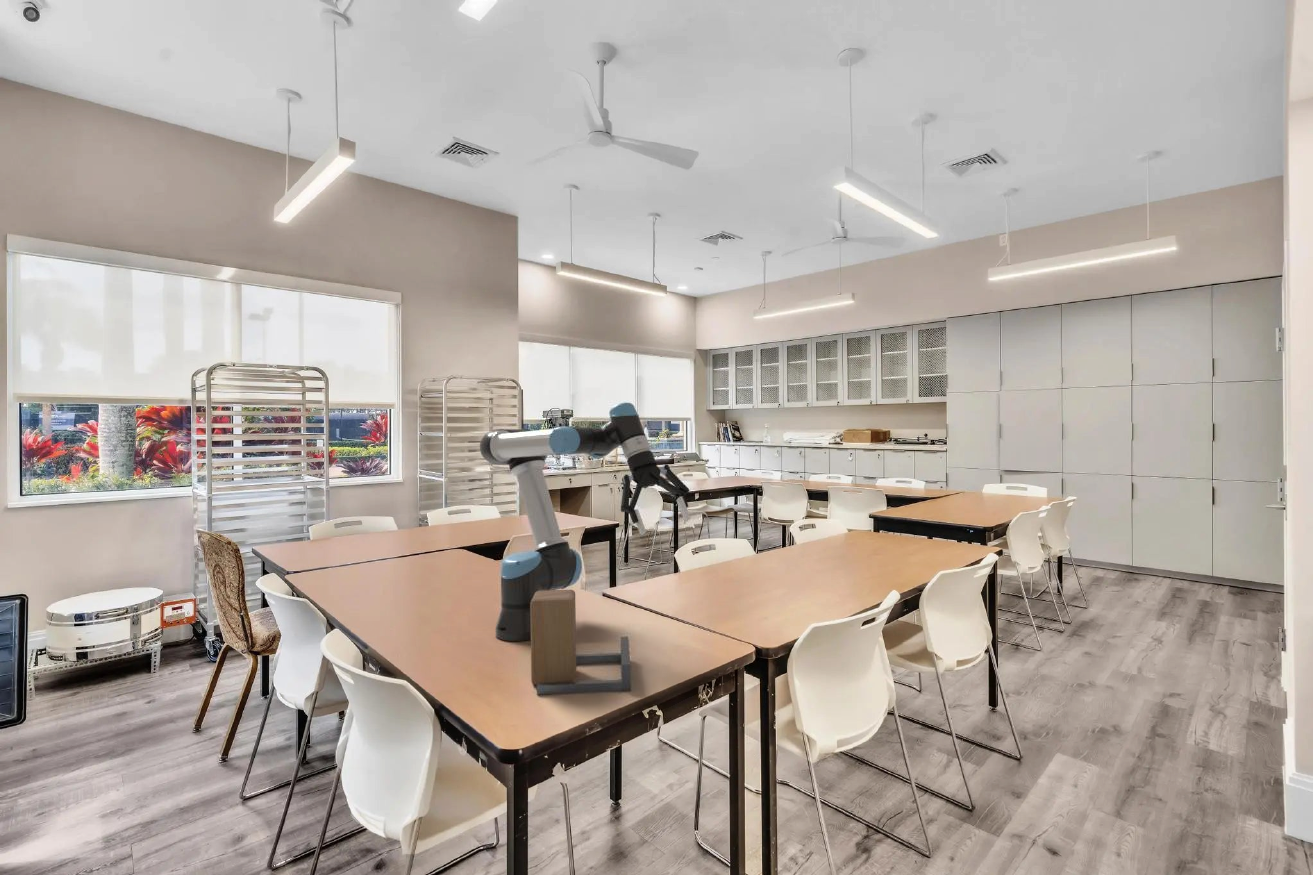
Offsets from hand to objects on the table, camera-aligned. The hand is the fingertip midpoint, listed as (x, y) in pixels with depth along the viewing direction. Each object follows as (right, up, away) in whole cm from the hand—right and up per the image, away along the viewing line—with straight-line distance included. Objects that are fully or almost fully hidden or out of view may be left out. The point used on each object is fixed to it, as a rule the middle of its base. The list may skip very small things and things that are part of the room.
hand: (665, 526), depth 162 cm
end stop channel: (-20, -34, -16) cm, 42 cm away
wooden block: (-27, -34, -17) cm, 46 cm away
